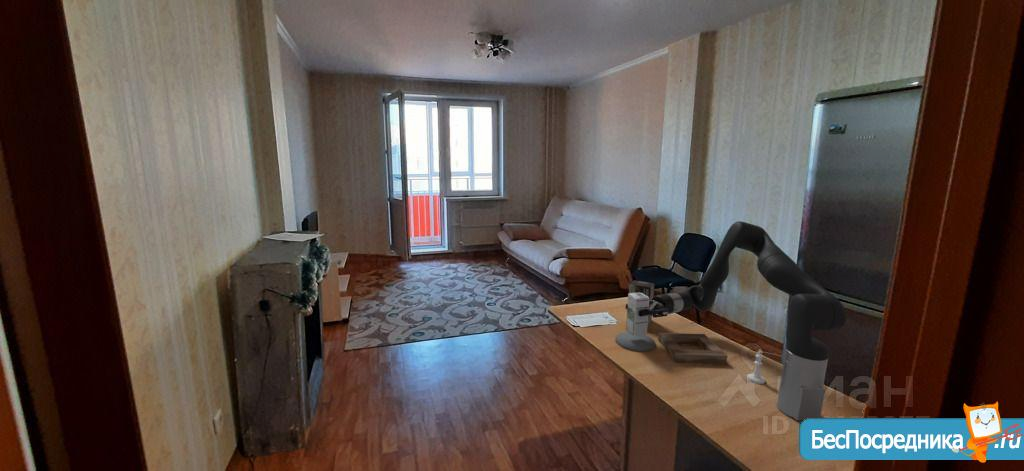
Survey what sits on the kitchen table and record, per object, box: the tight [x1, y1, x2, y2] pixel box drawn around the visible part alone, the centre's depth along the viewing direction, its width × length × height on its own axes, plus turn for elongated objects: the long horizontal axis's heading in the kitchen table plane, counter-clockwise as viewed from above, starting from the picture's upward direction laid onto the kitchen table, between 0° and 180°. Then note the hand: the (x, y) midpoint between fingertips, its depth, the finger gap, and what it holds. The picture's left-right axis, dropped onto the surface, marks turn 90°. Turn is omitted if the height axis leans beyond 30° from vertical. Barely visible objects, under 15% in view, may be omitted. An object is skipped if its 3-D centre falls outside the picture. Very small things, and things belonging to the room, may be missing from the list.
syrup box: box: [625, 292, 649, 336], centre depth 150 cm, size 6×6×14 cm
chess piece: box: [746, 349, 766, 385], centre depth 127 cm, size 5×5×10 cm
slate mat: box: [614, 331, 656, 352], centre depth 152 cm, size 14×14×1 cm
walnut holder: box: [658, 332, 728, 365], centre depth 145 cm, size 17×17×3 cm
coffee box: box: [628, 280, 655, 325], centre depth 172 cm, size 9×6×16 cm
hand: (632, 310), depth 148 cm, fingers closed on syrup box, 6 cm apart
